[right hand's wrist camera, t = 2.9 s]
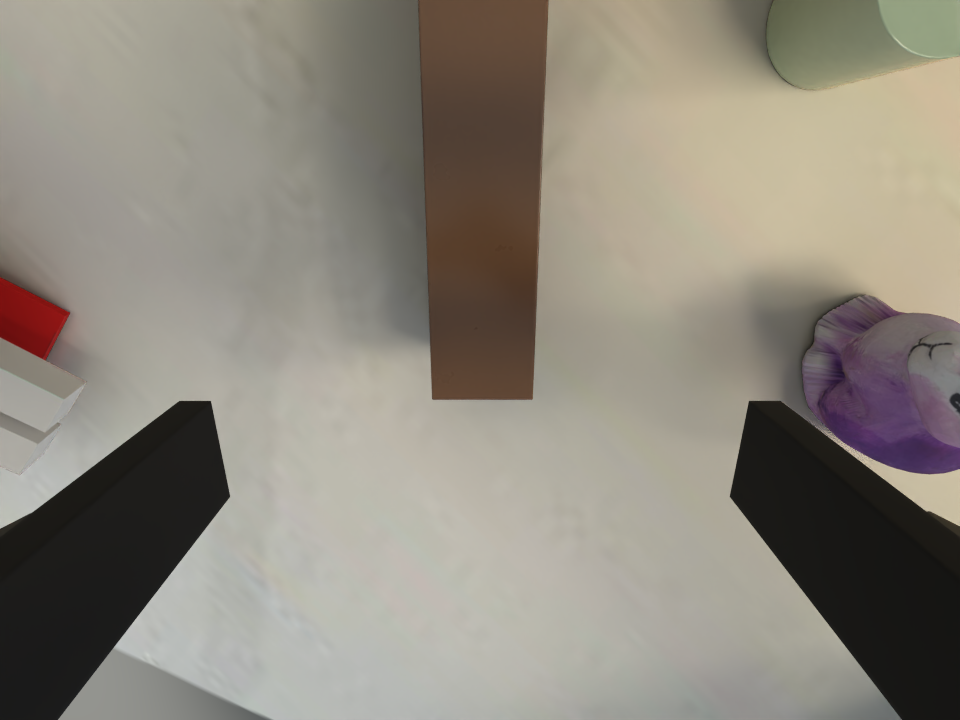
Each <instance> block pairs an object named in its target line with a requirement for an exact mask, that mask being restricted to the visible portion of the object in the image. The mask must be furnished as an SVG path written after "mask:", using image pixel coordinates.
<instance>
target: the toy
mask: <svg viewBox="0 0 960 720" xmlns="http://www.w3.org/2000/svg"><path fill="white" fill-rule="evenodd" d="M69 314H70V313H69V312H67V311H65V310H63V309H62V308H60V307H58V306H56V305H54V304H52V303H50V302H48V301H46V300H44V299H42V298H40V297H38V296H36V295H34V294H32V293H30V292H28V291H26V290H24V289H22V288H20V287H18V286H16V285H14V284H12V283H10V282H8V281H6V280H5V279H3V278H1V277H0V467H2V468H4V469H7V470H9V471H11V472H14V473H16V474H18V475H20V474H21V473H23V472H24V471H25V470H26V469H27V468H28V467H29V466H31V465H32V464H33V463H34V462H35V461H36V460H37V459H39V458H40V457H41V456H42V455H43V454H44V453H45V451H46V449H47V448H48V446H49V444H50V443H51V441H52V439H53V438H54V436H55V434H56V433H57V431H58V429H59V428H60V426H61V424H60V423H58V421H59V420H61V419H62V418H63V417H64V416H66V415H67V414H68V413H69V411H70V409H71V408H72V406H73V404H74V403H75V401H76V399H77V398H78V396H79V394H80V393H81V391H82V389H83V388H84V386H85V384H86V383H87V382H86V381H84V380H82V379H80V378H78V377H77V376H75V375H73V374H71V373H69V372H67V371H65V370H63V369H61V368H59V367H57V366H55V365H53V364H51V363H49V362H47V361H45V360H46V358H47V356H48V354H49V353H50V351H51V349H52V347H53V345H54V343H55V341H56V339H57V337H58V335H59V333H60V331H61V329H62V328H63V326H64V324H65V322H66V320H67V318H68V316H69Z"/></svg>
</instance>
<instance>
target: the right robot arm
mask: <svg viewBox="0 0 960 720" xmlns="http://www.w3.org/2000/svg"><path fill="white" fill-rule="evenodd" d="M229 497H230V494H229V489H228V484H227V479H226V474H225V469H224V464H223V459H222V454H221V449H220V444H219V439H218V434H217V429H216V424H215V419H214V414H213V409H212V404H211V401H179V402H178V403H176V404H175V405H174V406H172V407H171V408H170V409H168V410H167V411H166V412H164V413H163V414H162V415H160V416H159V417H158V418H156V419H155V420H154V421H152V422H151V423H150V424H149V425H147V426H146V427H145V428H143V429H142V430H141V431H139V432H138V433H137V434H135V435H134V436H133V437H131V438H130V439H129V440H127V441H126V442H125V443H123V444H122V445H121V446H120V447H118V448H117V449H116V450H114V451H113V452H112V453H110V454H109V455H108V456H106V457H105V458H104V459H102V460H101V461H100V462H98V463H97V464H96V465H94V466H93V467H92V468H91V469H89V470H88V471H87V472H85V473H84V474H83V475H81V476H80V477H79V478H77V479H76V480H75V481H73V482H72V483H71V484H69V485H68V486H67V487H65V488H64V489H63V490H62V491H60V492H59V493H58V494H56V495H55V496H54V497H52V498H51V499H50V500H48V501H47V502H46V503H44V504H43V505H42V506H40V507H39V508H38V509H37V510H35V511H34V512H33V513H30V514H28V515H26V516H24V517H22V518H21V519H19V520H17V521H15V522H13V523H11V524H9V525H7V526H5V527H3V528H1V529H0V720H58V719H59V718H60V716H61V715H62V714H63V712H64V711H65V710H66V708H67V707H68V706H69V705H70V703H71V702H72V701H73V699H74V698H75V697H76V695H77V694H78V693H79V692H80V690H81V689H82V688H83V686H84V685H85V684H86V683H87V681H88V680H89V679H90V677H91V676H92V675H93V673H94V672H95V671H96V670H97V668H98V667H99V666H100V664H101V663H102V662H103V661H104V659H105V658H106V657H107V655H108V654H109V653H110V652H111V650H112V649H113V648H114V646H115V645H116V644H117V642H118V641H119V640H120V639H121V637H122V636H123V635H124V633H125V632H126V631H127V629H128V628H129V627H130V626H131V624H132V623H133V622H134V620H135V619H136V618H137V617H138V615H139V614H140V613H141V611H142V610H143V609H144V607H145V606H146V605H147V604H148V602H149V601H150V600H151V598H152V597H153V596H154V595H155V593H156V592H157V591H158V589H159V588H160V587H161V585H162V584H163V583H164V582H165V580H166V579H167V578H168V576H169V575H170V574H171V573H172V571H173V570H174V569H175V567H176V566H177V565H178V563H179V562H180V561H181V560H182V558H183V557H184V556H185V554H186V553H187V552H188V550H189V549H190V548H191V547H192V545H193V544H194V543H195V541H196V540H197V539H198V538H199V536H200V535H201V534H202V532H203V531H204V530H205V528H206V527H207V526H208V525H209V523H210V522H211V521H212V519H213V518H214V517H215V516H216V514H217V513H218V512H219V510H220V509H221V508H222V506H223V505H224V504H225V503H226V501H227V500H228V499H229ZM730 497H731V499H732V500H733V501H734V503H735V504H736V505H737V506H738V508H739V509H740V510H741V512H742V513H743V514H744V516H745V517H746V518H747V519H748V521H749V522H750V523H751V525H752V526H753V527H754V528H755V530H756V531H757V532H758V534H759V535H760V536H761V538H762V539H763V540H764V541H765V543H766V544H767V545H768V547H769V548H770V549H771V550H772V552H773V553H774V554H775V556H776V557H777V558H778V560H779V561H780V562H781V563H782V565H783V566H784V567H785V569H786V570H787V571H788V573H789V574H790V575H791V576H792V578H793V579H794V580H795V582H796V583H797V584H798V585H799V587H800V588H801V589H802V591H803V592H804V593H805V595H806V596H807V597H808V598H809V600H810V601H811V602H812V604H813V605H814V606H815V607H816V609H817V610H818V611H819V613H820V614H821V615H822V617H823V618H824V619H825V620H826V622H827V623H828V624H829V626H830V627H831V628H832V629H833V631H834V632H835V633H836V635H837V636H838V637H839V639H840V640H841V641H842V642H843V644H844V645H845V646H846V648H847V649H848V650H849V652H850V653H851V654H852V655H853V657H854V658H855V659H856V661H857V662H858V663H859V664H860V666H861V667H862V668H863V670H864V671H865V672H866V674H867V675H868V676H869V677H870V679H871V680H872V681H873V683H874V684H875V685H876V686H877V688H878V689H879V690H880V692H881V693H882V694H883V696H884V697H885V698H886V699H887V701H888V702H889V703H890V705H891V706H892V707H893V709H894V710H895V711H896V712H897V714H898V715H899V716H900V718H901V719H902V720H960V526H958V525H956V524H954V523H952V522H950V521H948V520H946V519H944V518H942V517H940V516H938V515H936V514H934V513H932V512H926V511H925V510H923V509H922V508H921V507H920V506H918V505H917V504H916V503H914V502H913V501H912V500H910V499H909V498H908V497H906V496H905V495H904V494H902V493H901V492H900V491H898V490H897V489H896V488H895V487H893V486H892V485H891V484H889V483H888V482H887V481H885V480H884V479H883V478H881V477H880V476H879V475H877V474H876V473H875V472H873V471H872V470H871V469H869V468H868V467H867V466H866V465H864V464H863V463H862V462H860V461H859V460H858V459H856V458H855V457H854V456H852V455H851V454H850V453H848V452H847V451H846V450H844V449H843V448H842V447H840V446H839V445H838V444H837V443H835V442H834V441H833V440H831V439H830V438H829V437H827V436H826V435H825V434H823V433H822V432H821V431H819V430H818V429H817V428H815V427H814V426H813V425H811V424H810V423H809V422H808V421H806V420H805V419H804V418H802V417H801V416H800V415H798V414H797V413H796V412H794V411H793V410H792V409H790V408H789V407H788V406H786V405H785V404H784V403H782V402H781V401H749V404H748V409H747V414H746V419H745V424H744V429H743V434H742V439H741V444H740V449H739V454H738V459H737V464H736V469H735V474H734V479H733V484H732V489H731V494H730Z"/></svg>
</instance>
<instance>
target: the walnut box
mask: <svg viewBox="0 0 960 720" xmlns="http://www.w3.org/2000/svg"><path fill="white" fill-rule="evenodd" d="M418 12H419V40H420V68H421V97H422V125H423V154H424V182H425V210H426V239H427V267H428V296H429V324H430V352H431V381H432V399H433V400H532V399H533V380H534V355H535V329H536V304H537V278H538V253H539V227H540V202H541V176H542V151H543V125H544V100H545V74H546V49H547V23H548V0H418Z"/></svg>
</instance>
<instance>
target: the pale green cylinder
mask: <svg viewBox="0 0 960 720" xmlns="http://www.w3.org/2000/svg"><path fill="white" fill-rule="evenodd" d="M766 42H767V49H768V53H769V57H770V59H771V62H772V64H773V66H774V67H775V69H776V71H777V72H778V73H779V74H780V76H781V77H782V78H784V79H785V80H786V81H787V82H789V83H790V84H792V85H794V86H796V87H799V88H802V89H806V90H825V89H829V88H834V87H838V86H842V85H846V84H850V83H854V82H858V81H862V80H866V79H870V78H874V77H878V76H882V75H886V74H890V73H894V72H898V71H902V70H906V69H910V68H914V67H918V66H922V65H926V64H930V63H934V62H938V61H942V60H946V59H950V58H954V57H958V56H960V0H774V1H773V3H772V6H771V9H770V12H769V16H768V21H767V28H766Z"/></svg>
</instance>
